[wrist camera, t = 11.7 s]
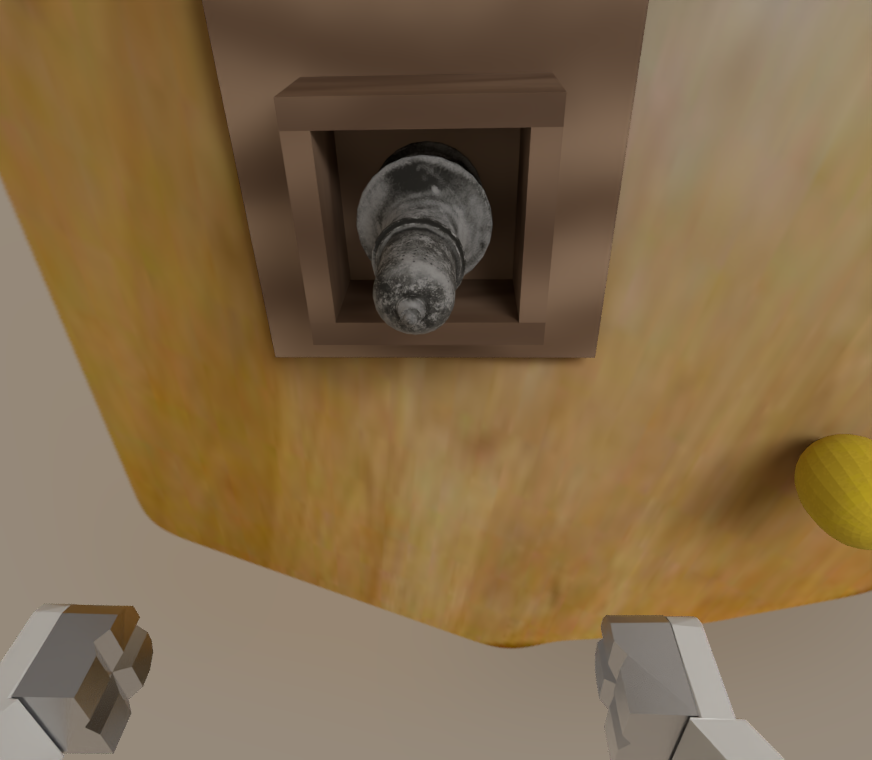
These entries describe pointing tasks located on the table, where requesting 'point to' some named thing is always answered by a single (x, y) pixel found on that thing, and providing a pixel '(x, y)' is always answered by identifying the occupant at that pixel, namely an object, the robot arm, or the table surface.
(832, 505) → the lemon
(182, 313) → the table surface
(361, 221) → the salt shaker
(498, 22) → the caddy
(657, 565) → the table surface
